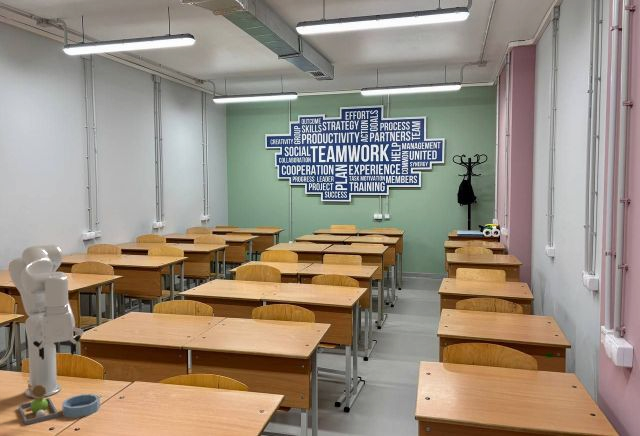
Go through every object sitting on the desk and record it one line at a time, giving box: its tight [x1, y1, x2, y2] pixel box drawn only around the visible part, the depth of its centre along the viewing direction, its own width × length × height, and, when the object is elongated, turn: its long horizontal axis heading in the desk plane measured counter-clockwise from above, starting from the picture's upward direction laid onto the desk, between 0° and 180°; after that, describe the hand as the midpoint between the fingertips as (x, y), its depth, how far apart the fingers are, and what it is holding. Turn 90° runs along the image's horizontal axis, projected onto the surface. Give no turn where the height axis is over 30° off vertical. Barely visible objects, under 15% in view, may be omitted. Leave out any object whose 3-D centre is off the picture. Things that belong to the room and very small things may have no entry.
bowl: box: [61, 393, 101, 419], centre depth 186 cm, size 12×12×4 cm
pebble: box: [35, 410, 46, 418], centre depth 179 cm, size 3×3×3 cm
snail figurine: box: [27, 380, 49, 414], centre depth 183 cm, size 5×6×12 cm
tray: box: [18, 397, 59, 426], centre depth 183 cm, size 16×10×2 cm, turn 38°
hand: (57, 356), depth 184 cm, fingers open, 9 cm apart
